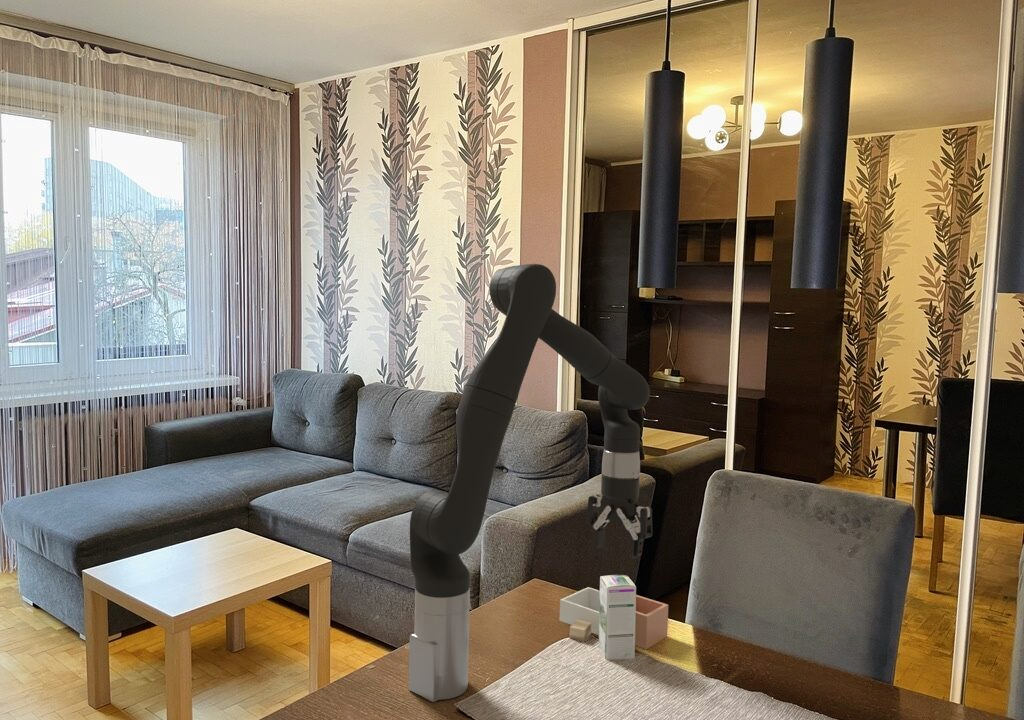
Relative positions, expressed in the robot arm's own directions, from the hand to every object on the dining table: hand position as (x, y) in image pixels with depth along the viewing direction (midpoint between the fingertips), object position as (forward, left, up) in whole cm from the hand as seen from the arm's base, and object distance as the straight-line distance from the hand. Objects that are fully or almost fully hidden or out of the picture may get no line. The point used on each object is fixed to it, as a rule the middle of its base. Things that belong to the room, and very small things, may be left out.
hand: (617, 552), depth 149 cm
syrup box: (-9, -6, -17) cm, 20 cm away
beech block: (-8, +3, -17) cm, 19 cm away
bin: (0, +5, -16) cm, 17 cm away
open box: (0, -6, -16) cm, 17 cm away
